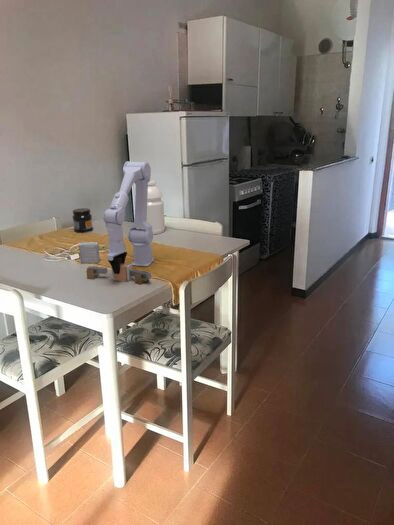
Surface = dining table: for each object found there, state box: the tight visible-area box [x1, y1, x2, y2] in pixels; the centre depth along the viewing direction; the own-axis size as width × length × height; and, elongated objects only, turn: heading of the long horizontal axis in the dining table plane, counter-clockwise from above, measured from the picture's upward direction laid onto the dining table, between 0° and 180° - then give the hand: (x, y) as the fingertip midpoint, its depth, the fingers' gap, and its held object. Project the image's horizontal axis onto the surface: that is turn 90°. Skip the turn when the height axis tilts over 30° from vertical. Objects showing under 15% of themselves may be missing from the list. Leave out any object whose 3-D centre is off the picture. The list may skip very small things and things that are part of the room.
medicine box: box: [78, 241, 101, 264], centre depth 191 cm, size 8×4×9 cm, turn 92°
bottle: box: [138, 179, 166, 235], centre depth 233 cm, size 14×14×28 cm
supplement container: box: [72, 207, 94, 234], centre depth 241 cm, size 10×10×12 cm
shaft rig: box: [86, 265, 152, 285], centre depth 171 cm, size 7×28×4 cm, turn 77°
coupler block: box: [111, 263, 133, 282], centre depth 171 cm, size 4×7×6 cm, turn 77°
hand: (118, 271), depth 171 cm, fingers closed on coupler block, 3 cm apart
